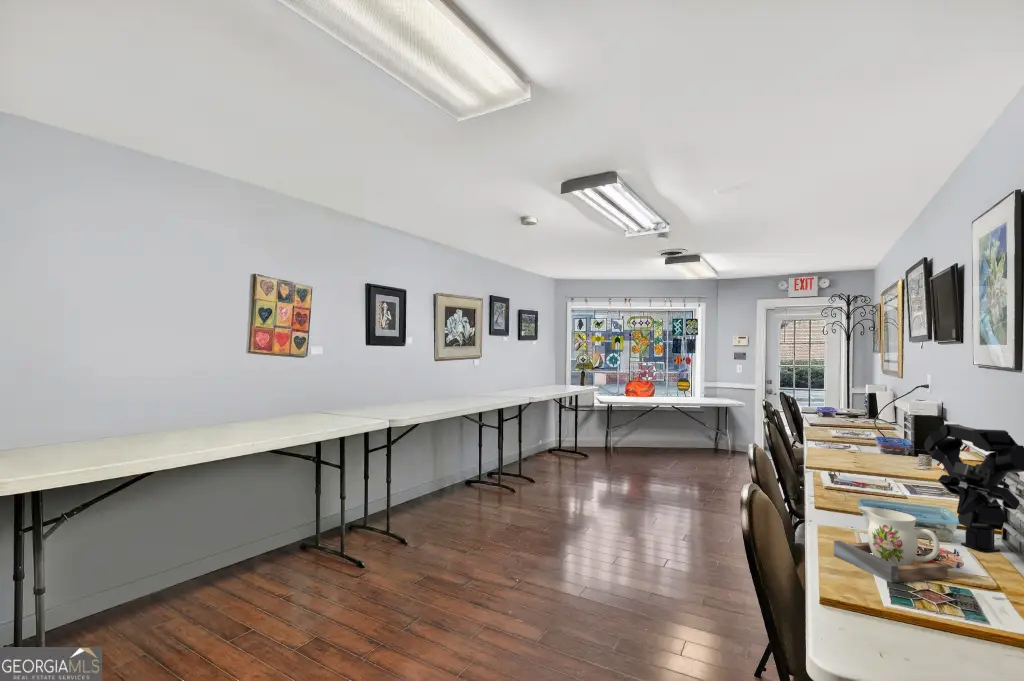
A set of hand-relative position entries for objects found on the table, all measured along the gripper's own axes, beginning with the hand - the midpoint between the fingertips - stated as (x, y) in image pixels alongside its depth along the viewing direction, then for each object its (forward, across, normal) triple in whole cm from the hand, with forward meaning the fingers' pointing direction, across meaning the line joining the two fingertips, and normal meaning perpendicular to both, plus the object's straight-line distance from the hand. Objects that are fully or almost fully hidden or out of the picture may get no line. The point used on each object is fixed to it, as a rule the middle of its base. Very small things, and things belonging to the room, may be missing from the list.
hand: (959, 514), depth 148 cm
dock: (+26, +2, -9) cm, 27 cm away
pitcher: (+24, +2, -7) cm, 25 cm away
